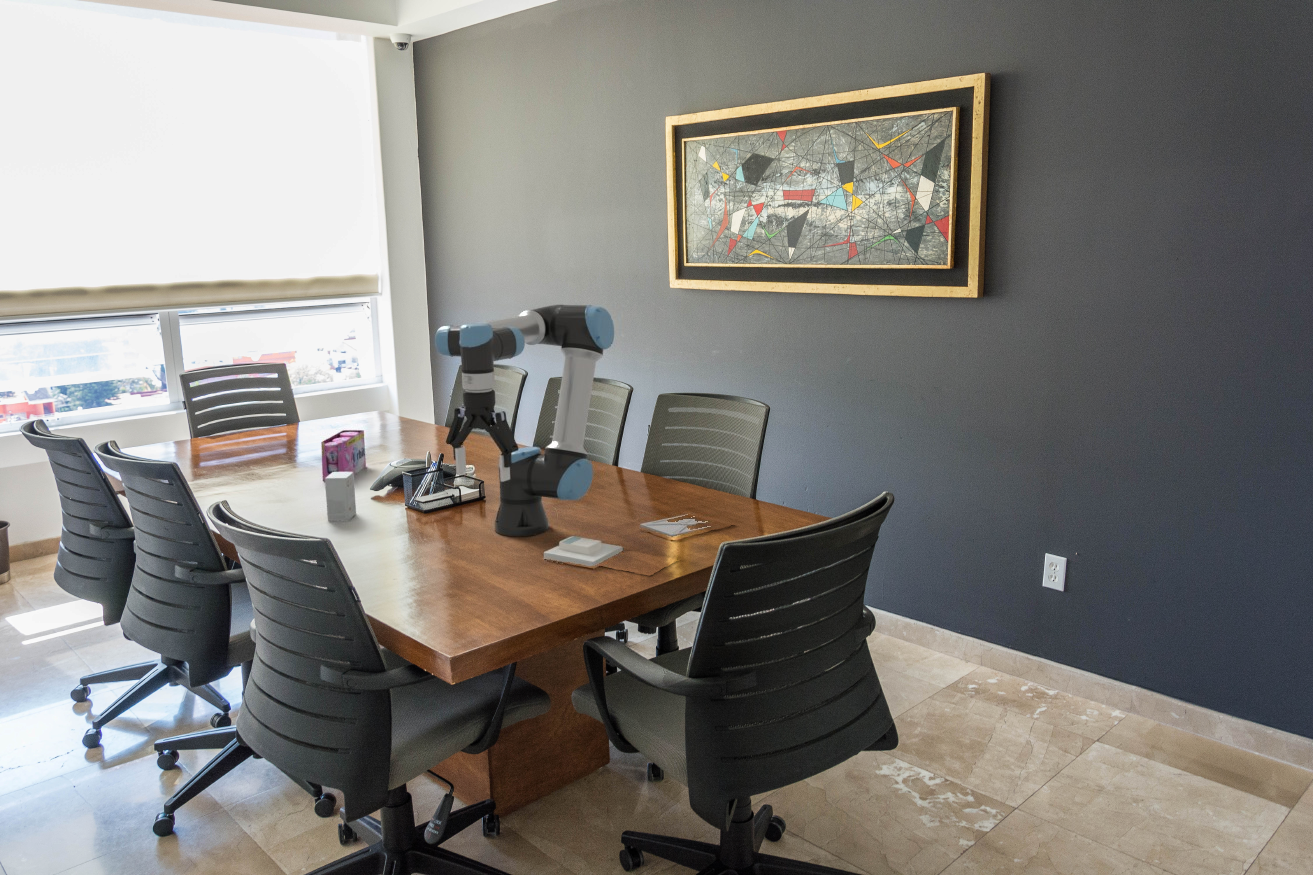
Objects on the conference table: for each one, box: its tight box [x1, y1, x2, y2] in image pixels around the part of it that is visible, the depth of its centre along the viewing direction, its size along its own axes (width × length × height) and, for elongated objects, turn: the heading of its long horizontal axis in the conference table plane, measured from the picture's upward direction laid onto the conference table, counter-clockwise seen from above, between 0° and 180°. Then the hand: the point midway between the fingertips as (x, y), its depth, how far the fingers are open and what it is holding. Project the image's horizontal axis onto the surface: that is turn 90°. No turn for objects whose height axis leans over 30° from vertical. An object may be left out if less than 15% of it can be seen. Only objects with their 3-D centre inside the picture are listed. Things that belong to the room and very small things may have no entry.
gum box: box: [320, 429, 367, 482], centre depth 337 cm, size 24×8×14 cm, turn 178°
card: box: [558, 535, 602, 555], centre depth 249 cm, size 6×9×2 cm, turn 60°
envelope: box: [639, 513, 711, 537], centre depth 275 cm, size 24×2×14 cm
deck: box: [543, 542, 624, 566], centre depth 249 cm, size 14×15×2 cm
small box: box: [324, 472, 357, 522], centre depth 283 cm, size 8×6×13 cm
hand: (483, 476), depth 232 cm, fingers open, 13 cm apart
